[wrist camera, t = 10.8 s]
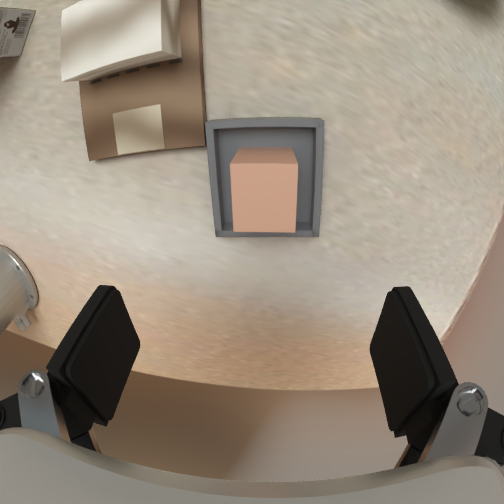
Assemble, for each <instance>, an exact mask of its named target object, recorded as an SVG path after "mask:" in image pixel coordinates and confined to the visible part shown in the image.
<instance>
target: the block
mask: <svg viewBox="0 0 504 504" xmlns="http://www.w3.org/2000/svg"><path fill="white" fill-rule="evenodd" d="M230 175H231V194H232V213H233V231H234V232H290V233H295V227H296V207H297V183H298V162H297V160H296V157H295V154H294V152H293V149H292V148H282V147H242V148H239V150H238V151H237V153H236V155H235V156H234V158H233V159H232V161H231V163H230Z"/></svg>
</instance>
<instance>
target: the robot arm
mask: <svg viewBox="0 0 504 504" xmlns="http://www.w3.org/2000/svg"><path fill="white" fill-rule="evenodd" d="M37 301H38V293H37V289H36V286H35V283H34V281H33V279H32V276H31V275H30V273H29V271H28V270H27V268H26V267H25V265H24V264H23V262H22V261H21V260H20V259H19V258H18V257H17V256H16V255H15V254H14V253H13V252H12V251H11V250H9V249H8V248H6V247H4V246H0V336H1V335H2V333H3V332H4V331H5V329H6V328H7V326H8V325H9V324H10V322H11V321H12V320H13V319H14V320H15V322H16V324H17V326H18V327H19V329H20V330H21V331H24V330H25V329H26V328H27V327H29V326H30V325H31V322H30V320H29V318H28V317H27V315H26V311H27V310H30V309H32V308H33V307H34V306H35V305H36V303H37ZM139 349H140V340H139V338H138V335H137V333H136V331H135V328H134V326H133V324H132V321H131V319H130V316H129V314H128V311H127V309H126V306H125V304H124V301H123V299H122V296H121V293H120V291H119V290H117V289H116V288H115V287H114V286H108V285H100V286H98V287H97V289H96V290H95V291H94V293H93V294H92V296H91V297H90V299H89V300H88V301H87V303H86V304H85V306H84V307H83V309H82V310H81V312H80V313H79V315H78V316H77V318H76V319H75V321H74V322H73V324H72V325H71V327H70V329H69V330H68V332H67V333H66V335H65V336H64V338H63V340H62V341H61V343H60V345H59V346H58V348H57V350H56V351H55V353H54V355H53V356H52V358H51V360H50V361H49V363H48V365H47V367H46V368H47V369H48V373H47V374H46V373H45V372H44V371H42V370H37V369H36V370H31V371H30V372H28V373H26V374H25V375H24V376H23V377H22V379H21V380H20V382H19V386H18V393H16V394H14V395H12V396H10V397H8V398H6V399H4V400H2V401H0V504H504V416H503V415H501V414H499V413H497V412H496V411H494V410H492V409H490V408H488V399H487V396H486V394H485V392H484V390H483V389H482V388H481V387H480V386H478V385H476V384H475V383H471V382H465V383H462V384H460V385H459V384H458V382H457V379H456V377H455V375H454V372H453V370H452V368H451V365H450V363H449V361H448V359H447V357H446V354H445V352H444V350H443V348H442V346H441V344H440V341H439V339H438V337H437V335H436V333H435V331H434V329H433V327H432V326H431V324H430V322H429V320H428V319H427V317H426V315H425V313H424V311H423V309H422V307H421V305H420V304H419V302H418V300H417V298H416V296H415V295H414V293H413V291H412V289H411V288H410V287H408V286H405V287H394V288H393V289H392V291H390V292H388V293H387V296H386V299H385V302H384V305H383V309H382V312H381V315H380V318H379V321H378V324H377V327H376V330H375V332H374V335H373V338H372V341H371V344H370V354H371V358H372V361H373V365H374V369H375V372H376V376H377V380H378V384H379V388H380V392H381V395H382V400H383V404H384V408H385V413H386V417H387V421H388V426H389V429H390V430H391V431H394V435H395V438H396V437H401V436H405V435H406V436H407V440H408V445H407V446H406V448H405V450H404V452H403V454H402V455H401V457H400V459H399V461H398V462H397V464H396V466H395V467H394V469H390V470H386V471H381V472H376V473H369V474H364V475H357V476H351V477H344V478H336V479H328V480H316V481H301V482H300V481H299V482H249V481H232V480H221V479H211V478H203V477H196V476H190V475H183V474H178V473H173V472H168V471H162V470H158V469H153V468H149V467H145V466H141V465H137V464H133V463H130V462H126V461H123V460H119V459H116V458H113V457H110V456H107V455H104V454H102V452H101V450H100V447H99V445H98V442H97V440H96V437H95V434H94V432H93V429H92V425H93V423H94V422H95V423H97V424H100V425H104V426H107V424H108V421H109V420H111V419H112V418H113V416H114V413H115V410H116V408H117V405H118V402H119V400H120V397H121V394H122V392H123V389H124V386H125V384H126V381H127V378H128V376H129V373H130V371H131V369H132V366H133V364H134V361H135V359H136V356H137V354H138V351H139Z"/></svg>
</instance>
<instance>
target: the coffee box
mask: <svg viewBox="0 0 504 504" xmlns="http://www.w3.org/2000/svg"><path fill="white" fill-rule="evenodd" d="M34 14H35V10H27V9H18V8H3V7H0V58H3V57H14V56H20V55H21V53H22V50H23V46H24V43H25V40H26V37H27V33H28V30H29V27H30V25H31V22H32V19H33V17H34Z"/></svg>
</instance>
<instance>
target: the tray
mask: <svg viewBox="0 0 504 504" xmlns="http://www.w3.org/2000/svg"><path fill="white" fill-rule="evenodd" d="M205 128H206V141H207V153H208V164H209V176H210V186H211V196H212V206H213V216H214V225H215V234H216V237H319V226H320V212H321V197H322V178H323V152H324V120H322V119H320V118H302V117H256V118H232V119H217V120H210V121H207V122H205ZM242 147H282V148H292V149H293V152H294V154H295V157H296V160H297V162H298V183H297V207H296V227H295V233H290V232H234V231H233V213H232V194H231V175H230V163H231V161H232V159H233V158H234V156H235V155H236V153H237V151H238V150H239V148H242Z"/></svg>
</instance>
